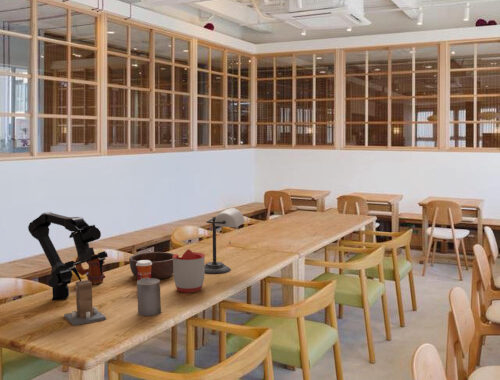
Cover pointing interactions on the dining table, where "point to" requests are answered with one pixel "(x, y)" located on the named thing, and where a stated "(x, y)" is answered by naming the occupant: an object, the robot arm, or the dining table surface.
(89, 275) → the mug
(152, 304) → the pillar candle
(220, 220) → the lamp
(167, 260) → the wooden bowl
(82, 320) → the peg nest
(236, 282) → the dining table surface
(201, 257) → the citrus juicer
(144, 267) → the paper cup
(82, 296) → the walnut post
